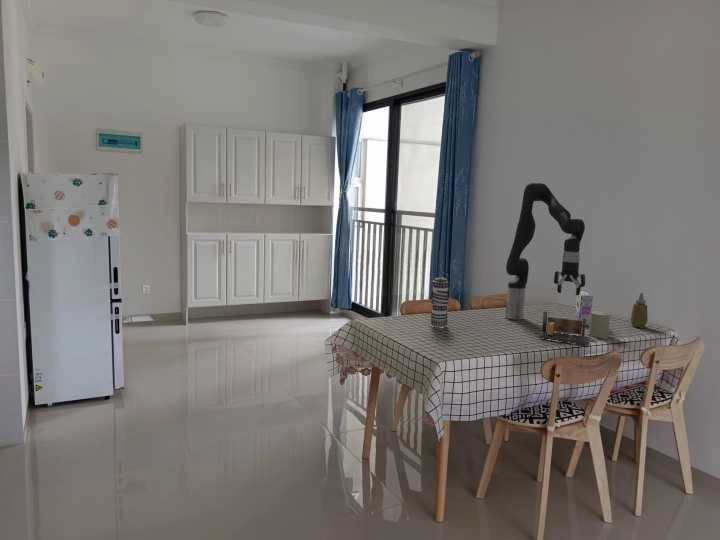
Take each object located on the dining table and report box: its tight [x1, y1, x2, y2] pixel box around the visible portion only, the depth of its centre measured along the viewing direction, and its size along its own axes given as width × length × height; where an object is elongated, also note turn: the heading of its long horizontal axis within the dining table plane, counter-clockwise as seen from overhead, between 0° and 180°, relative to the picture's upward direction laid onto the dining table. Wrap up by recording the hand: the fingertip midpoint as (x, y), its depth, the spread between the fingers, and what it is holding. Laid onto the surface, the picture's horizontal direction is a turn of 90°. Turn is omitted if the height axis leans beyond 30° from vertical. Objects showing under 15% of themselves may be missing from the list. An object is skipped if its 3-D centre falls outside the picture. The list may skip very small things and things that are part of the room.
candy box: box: [574, 290, 593, 327], centre depth 300 cm, size 14×6×16 cm, turn 168°
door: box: [546, 316, 583, 335], centre depth 277 cm, size 16×2×7 cm, turn 63°
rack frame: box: [541, 310, 586, 337], centre depth 278 cm, size 20×2×10 cm, turn 63°
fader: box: [546, 322, 555, 335], centre depth 268 cm, size 2×5×5 cm, turn 153°
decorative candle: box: [430, 277, 450, 328], centre depth 286 cm, size 9×9×25 cm
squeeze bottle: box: [630, 292, 648, 328], centre depth 294 cm, size 8×8×18 cm
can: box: [588, 310, 611, 339], centre depth 275 cm, size 9×9×12 cm
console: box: [539, 330, 588, 347], centre depth 266 cm, size 20×9×2 cm, turn 63°
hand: (568, 294), depth 271 cm, fingers open, 8 cm apart
